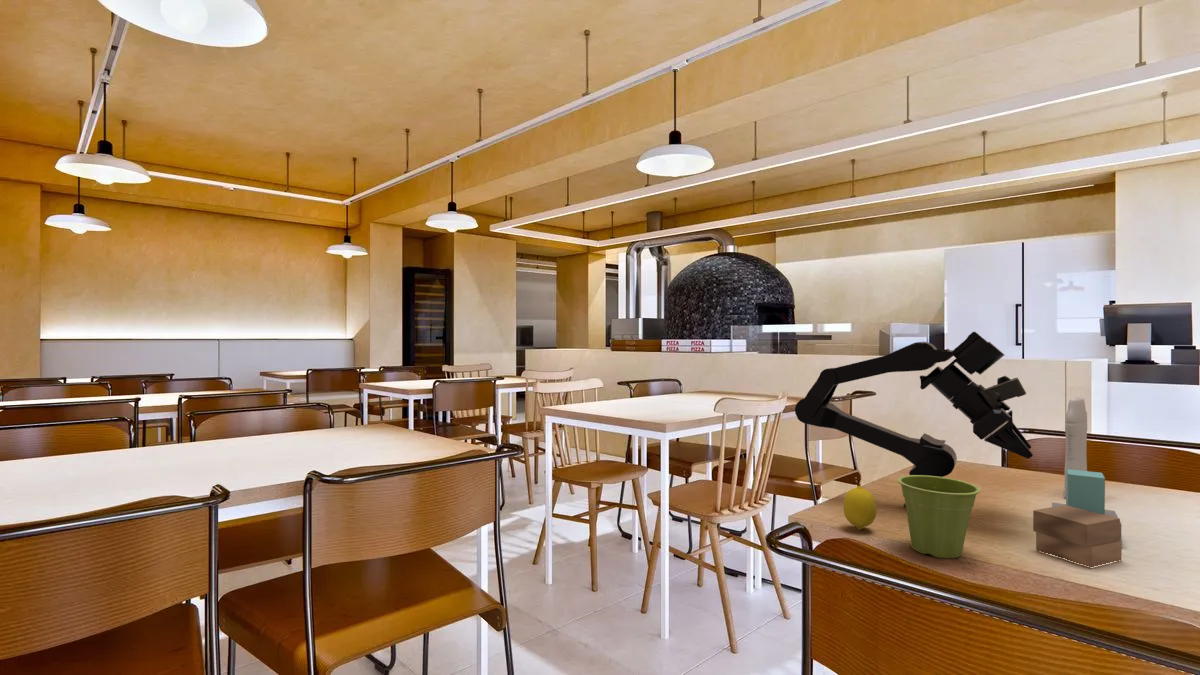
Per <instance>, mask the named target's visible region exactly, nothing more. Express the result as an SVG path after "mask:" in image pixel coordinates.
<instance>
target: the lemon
mask: <svg viewBox="0 0 1200 675" xmlns="http://www.w3.org/2000/svg"><path fill="white" fill-rule="evenodd" d="M842 508H843V514H844V517H845V518H846V520H847V521H848V522H849V524H851V525H853V526H854V527H856V529H857V530H863V529H864V528H865V527H868V526H870V525H872V523H873V522H874V521H875V519H876V517H877V516H876V515H877V504H876V500H875V498H874V496H873V494H872V493H871V492H870V491H869V490H868V489H866V488H863V486H861V485H858V486H857V487H854V488H852V489H850V490H848V492H847V493H846V495H845V497H844V500H843V506H842Z"/></svg>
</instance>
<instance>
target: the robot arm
mask: <svg viewBox="0 0 1200 675" xmlns="http://www.w3.org/2000/svg"><path fill="white" fill-rule="evenodd" d="M1004 356H1005V353H1003V352H1002V351H1001V350H1000V349H999V348H998V347H997V346H995V345H994V344H993V343H991V341H987V340H986V339H985V338H984V337H982V336H981V335H980V334H979V333H978V332H976V331H971V333H970V334H969V335H968V336H967V337H966V339H965V340H963V341H962V342H961V343H960V344H959V345H958V346H956V347H955V348H953V350H951V349H950V348H946V349H943V348H937V347H936V346H935V345H934V344H932V343H931V342H928V341H918V342H917V341H916V342H914V343H911V344H909V345H906V346H904V347H902V348H899V349H896V350H894V351H892V352H889V353H888V354H885V355H882V356H879V357H874V358H870V359H866V360H862V361H857V362H853V363H850V364H846V365H842V366H838V367H830V368H825V369H823V370H821V372H820V374H819V376H818V378H817V379H816V381H815V382H814V383H813V385H812V386H811V387H810V389H809V390H808V392H807V393H806V395H805V396H804V398H802V399H800V400H798V401H797V403H796V405H795V408H794V412H795V416H796V417H797V418H796V419H797V420H798V421H799V422H801V423H802V424H805V425H810V426H814V427H819V428H826V429H834V430H837V431H839V432H842V433H843V434H844V433H845V434H846V435H849V436H853V437H854V438H857V439H859V440H862V441H864V442H867V443H869V444H871V445H874V446H877V447H880V448H881V449H883V450H884V449H885V451H886V450H887V451H890V452H892V453H894V454H896V455H898V456H899V455H900V456H901V457H902V458H905V460H907V461H908V462H910V463H911V464H913V466H912V468H910V470H909V472H908V473H909V475H924V476H925V475H927V476H938V477H947V476H949V475H950V474H951V473H952V472H953V471H954V469H955V467H956V465H957V460H958V456H957V454H956V452H955V450H954V449H953V447H952V446H950V445H949V444H946V443H947V442H946V440H944V439H938V438H935V437H932V436H931V435H929V434H927V433H925V432H924V433H923V434H922V435H921V437H920V438H916V437H909V436H907V435H905V434H902V433H899V432H897V431H894V430H891V429H888V428H886V427H883V426H881V425H879V424H875V423H873V422H870V421H868V420H867V419H866V420H865V419H862V418H860V417H858V416H855V415H852V414H849V413H847V412H845V411H843V410H841V409H840V408H839V407H838V406H836V405H835V404H834V403H832V402H831V400H832V398H833V396H834V395H835V392H836V389H837V387H838V386H839V384H844V383H847V382H853V381H859V380H860V379H865V378H871V377H875V376H879V375H884V374H888V373H899V372H900V373H901V372H918V371H919V372H921V371H926V370H929V369H931V368H933V367H934V366H936V364H938V363H945V362H947V361H949V360H950V359H952V358H953V357H954V360H952V361H951V362H950V363H949V364H947V365H946V366H945V367H944V368H942V367H941V366H936V367H935V368H934V369H933V370H932V371H931V372H929V373H928V374H927V375H919V380H920V389H921V390H925V389H927V387H929V386H930V385H931V386H932V387H934V388H935V389H936V390H937V391H938V392H940V394H941V395H942V396H943V397H944V398H946V399H947V400H948V401H949V402H950V403H951V404H952V407H953V408H954V409H956V410H959V411H960V412H961V413H962V414H963V415H964V416H965V417H966V418H968V419H969V420H970V421H969V422H970V423H971V424H972V433H973V434H974V435H975V436H977V437H978V439H979V440H981V441H984V442H986V443H989V444H992V445H994V446H996V447H999V448H1001V449H1004V450H1006V451H1009V452H1012V453H1013V454H1016V455H1017V456H1020V457H1022V458H1025V459H1029V460H1030V459H1031V458H1032V457H1034V455H1033V453H1032V452H1031V450H1030V449H1031V448H1032V445H1031V444H1030V443H1029V441H1028V440H1027V438H1026V437H1025V436H1024V435H1023V434H1022V432H1021V431H1020V429H1019V428H1018V427H1017V426H1016V424H1015V423H1014V418H1013V410H1012V409H1011V406H1009V405H1008V404H1007V403H1006V402H1005V401H1008V400H1011V399H1013V398H1016V397H1017V398H1019V397H1022V396H1023V397H1024V396H1025V395H1027V391H1026V389H1025V388H1024V387H1023V385H1022V382H1021V381H1020V379H1019V377H1014V378H1012V379H1011V378H1010V377H1008V376H1007V375H1003V376H1001V377H998V378H997V382H996V384H994V385H991V386H990V387H986V388H985V386H984V385H982V384H977V383H976V382H974V381H973V380H972V378H970V377H969V376H968V375H967V374H965V373H964V372H963V371H962V369H963V370H964V371H966V372H967V373H968V374H969V375H973V374H975V373H976V374H978V375H982V374H983V373H984V372H986V371H987V370H988V369H990V368H991V367H992V366H993V365H995V364H997V362H998V361H999V360H1001V359H1002V358H1003V357H1004ZM956 363H957V365H958V366H960V367H961V368H962V369H960V368H959V367H958V366H956V365H955V364H956ZM903 507H905V508H906V504H905V503H903Z"/></svg>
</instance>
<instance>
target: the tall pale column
mask: <svg viewBox="0 0 1200 675" xmlns="http://www.w3.org/2000/svg"><path fill="white" fill-rule="evenodd" d="M1064 427H1065V428H1064V430H1065V458H1064V459H1065V460H1064V461H1065V462H1064V480H1063V481H1064V485H1063V486H1064V488H1063V495H1064V499H1065V500H1066V475H1067V469H1072V470H1081V471H1088V461H1087V444H1088V443H1087V436H1088V433H1087V432H1088V411H1087V408H1086V402H1085V399H1084V398H1081V397H1079V396H1075V397H1073V398H1071V399H1069V400H1068V405H1067V410H1066V413H1065V425H1064Z"/></svg>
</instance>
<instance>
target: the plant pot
mask: <svg viewBox="0 0 1200 675" xmlns="http://www.w3.org/2000/svg"><path fill="white" fill-rule="evenodd" d="M897 482H898V484H900V486H901V489H902V490H901V491H902V496H903V498H904V502H905V504H906V507H905V510H906V517H907V523H908V530H909V536H910V544H911V547H912V549H913V550H914V551H917V552H919V553H920V554H924V555H926V554H929V555H931V556H933V557H935V558H938V559H956V558H959V557H960V556H961V555H962V554H963V550H964V549H963V548H964V544H965V540H966V536H967V530H968V527H969V521H970V518H971V513H972V509H973V507H974V505H975V502H976V498H977V497H976V496H977V495H978V494H979V493H981V488H979V486H977V485H975V484H973V483H970V482H967V481H964V480H959V479H955V478H951V477H946V476H943V477H938V476H927V475H925V476H924V475H910V474H909V475H903V476H900V477H898V478H897Z"/></svg>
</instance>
